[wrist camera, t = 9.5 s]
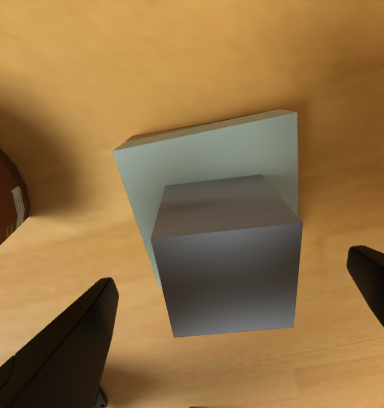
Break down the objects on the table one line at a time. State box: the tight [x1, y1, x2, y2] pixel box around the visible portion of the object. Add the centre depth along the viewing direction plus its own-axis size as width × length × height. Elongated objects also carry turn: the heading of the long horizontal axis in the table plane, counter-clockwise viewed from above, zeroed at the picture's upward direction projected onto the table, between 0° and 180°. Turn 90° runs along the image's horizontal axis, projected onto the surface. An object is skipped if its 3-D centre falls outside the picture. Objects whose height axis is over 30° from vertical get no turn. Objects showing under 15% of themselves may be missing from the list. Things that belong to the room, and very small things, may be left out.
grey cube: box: [151, 175, 303, 338], centre depth 11 cm, size 5×5×5 cm
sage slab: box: [112, 109, 299, 286], centre depth 14 cm, size 9×9×2 cm
